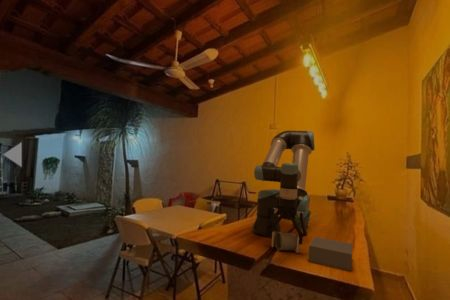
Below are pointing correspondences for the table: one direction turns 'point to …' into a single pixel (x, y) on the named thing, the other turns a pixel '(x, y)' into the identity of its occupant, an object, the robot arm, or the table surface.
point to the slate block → (331, 253)
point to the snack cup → (306, 219)
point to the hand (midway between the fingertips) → (285, 248)
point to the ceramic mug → (285, 241)
